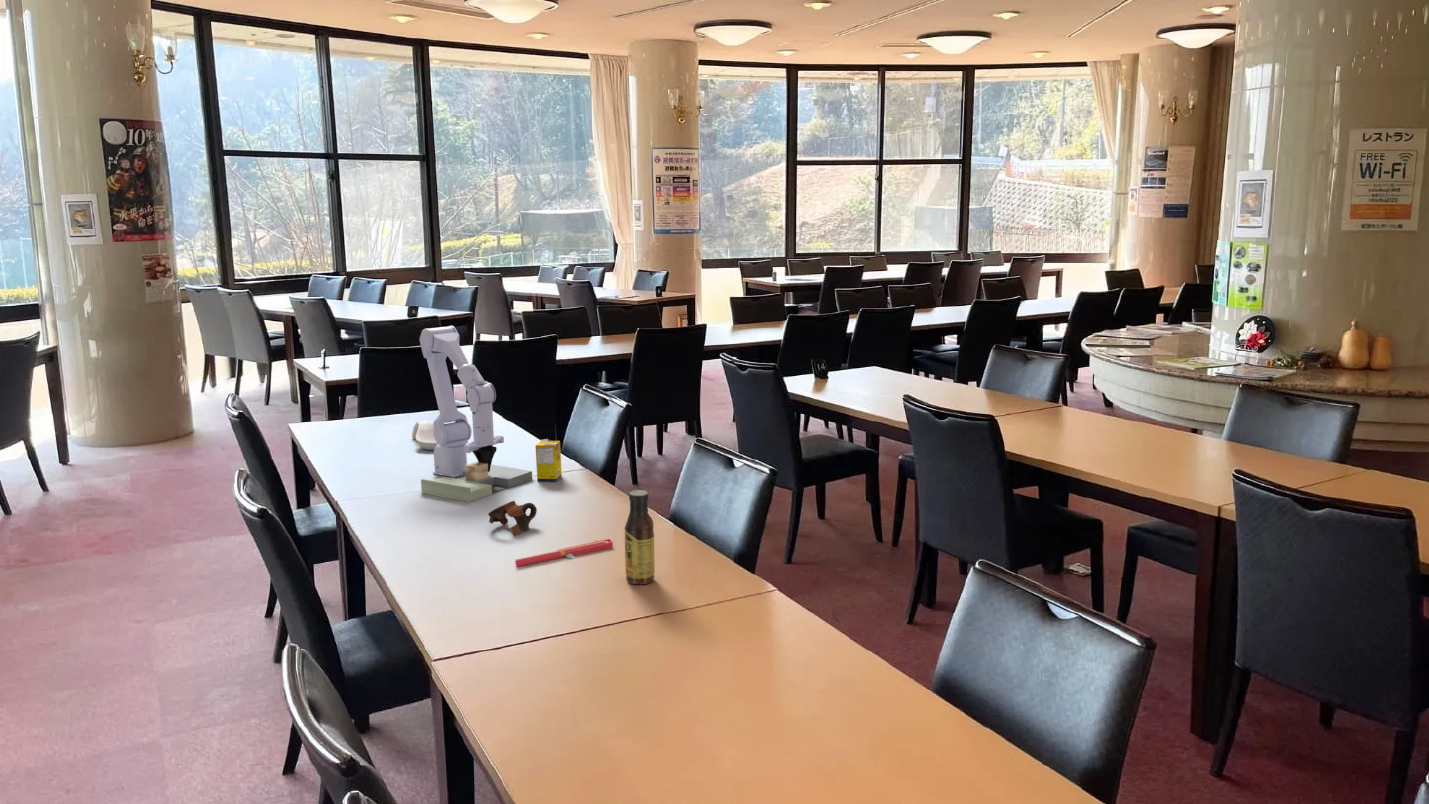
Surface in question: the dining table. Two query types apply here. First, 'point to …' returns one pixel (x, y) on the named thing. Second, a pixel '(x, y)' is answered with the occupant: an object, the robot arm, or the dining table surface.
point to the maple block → (476, 471)
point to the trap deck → (476, 484)
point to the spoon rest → (424, 435)
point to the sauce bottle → (639, 540)
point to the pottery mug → (514, 515)
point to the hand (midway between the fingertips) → (485, 471)
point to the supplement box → (548, 460)
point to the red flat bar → (565, 552)
